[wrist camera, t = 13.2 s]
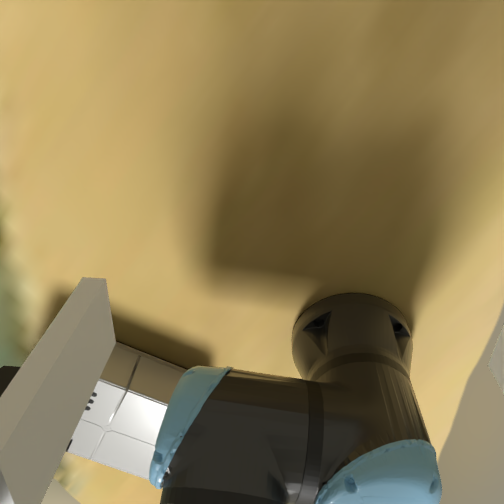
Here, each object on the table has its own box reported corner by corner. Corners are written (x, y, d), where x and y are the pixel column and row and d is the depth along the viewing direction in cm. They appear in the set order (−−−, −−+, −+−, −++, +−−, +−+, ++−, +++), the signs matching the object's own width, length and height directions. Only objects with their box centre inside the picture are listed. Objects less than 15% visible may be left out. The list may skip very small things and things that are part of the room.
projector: (66, 316, 61) (39, 357, 54) (215, 376, 65) (207, 421, 58) (38, 392, 69) (11, 436, 62) (172, 441, 73) (161, 487, 66)
